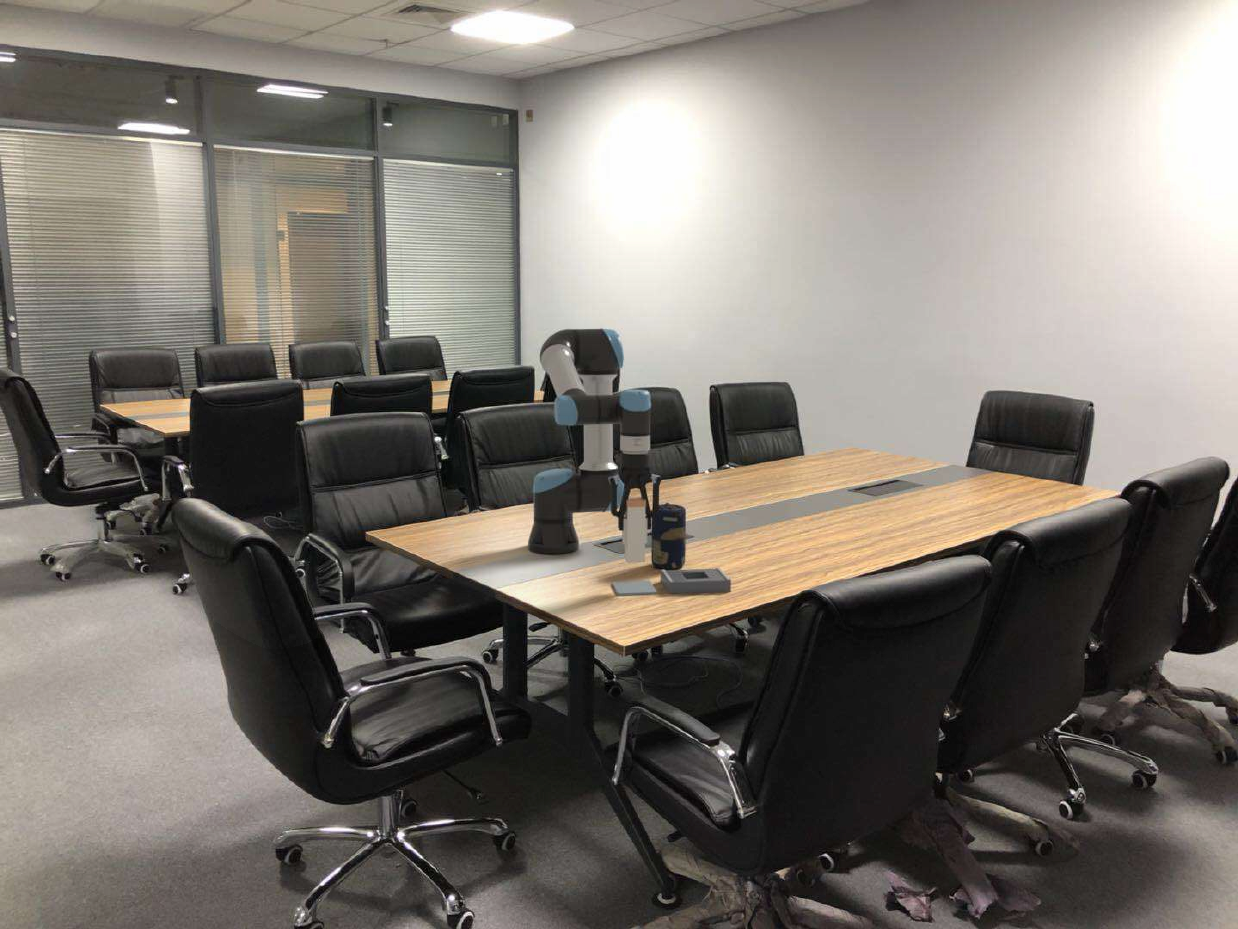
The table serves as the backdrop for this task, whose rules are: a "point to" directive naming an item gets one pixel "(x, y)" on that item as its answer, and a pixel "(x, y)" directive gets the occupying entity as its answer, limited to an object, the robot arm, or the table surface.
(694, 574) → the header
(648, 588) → the pad
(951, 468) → the table surface
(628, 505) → the plug
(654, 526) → the canister
